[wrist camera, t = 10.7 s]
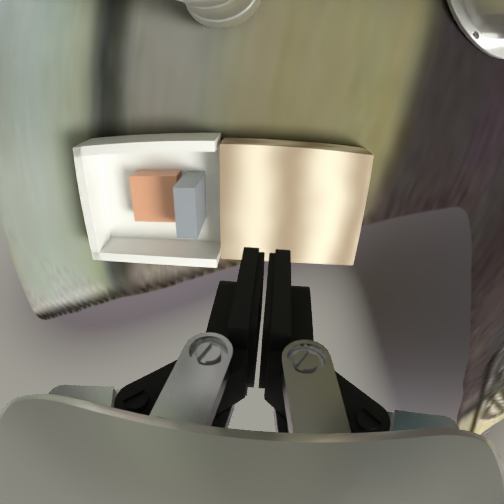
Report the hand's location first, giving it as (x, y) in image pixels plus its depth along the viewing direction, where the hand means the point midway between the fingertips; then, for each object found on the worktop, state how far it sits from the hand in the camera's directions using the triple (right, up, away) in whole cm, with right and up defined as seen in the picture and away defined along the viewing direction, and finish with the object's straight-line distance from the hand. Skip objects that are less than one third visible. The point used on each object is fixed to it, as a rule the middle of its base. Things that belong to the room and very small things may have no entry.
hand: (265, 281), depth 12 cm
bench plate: (+4, +7, +21) cm, 22 cm away
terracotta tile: (-10, +6, +19) cm, 23 cm away
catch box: (-11, +8, +21) cm, 25 cm away
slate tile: (-5, +6, +19) cm, 20 cm away
